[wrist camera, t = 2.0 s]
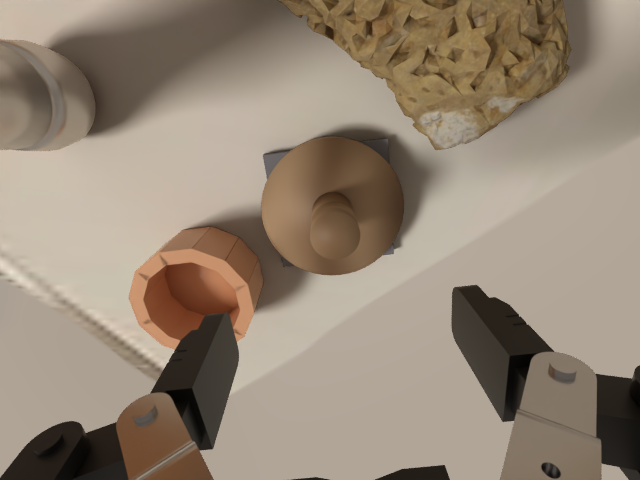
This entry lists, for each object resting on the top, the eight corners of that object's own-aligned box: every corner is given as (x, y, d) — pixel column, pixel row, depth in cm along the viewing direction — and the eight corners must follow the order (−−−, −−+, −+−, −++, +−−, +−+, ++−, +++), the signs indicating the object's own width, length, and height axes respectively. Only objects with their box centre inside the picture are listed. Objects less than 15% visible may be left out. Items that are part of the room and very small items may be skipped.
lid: (397, 127, 24) (421, 135, 18) (402, 260, 28) (424, 301, 22) (251, 146, 24) (230, 159, 19) (276, 275, 28) (265, 319, 23)
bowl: (250, 221, 27) (238, 243, 23) (270, 314, 31) (262, 347, 26) (144, 234, 28) (113, 257, 24) (174, 324, 31) (152, 359, 27)
